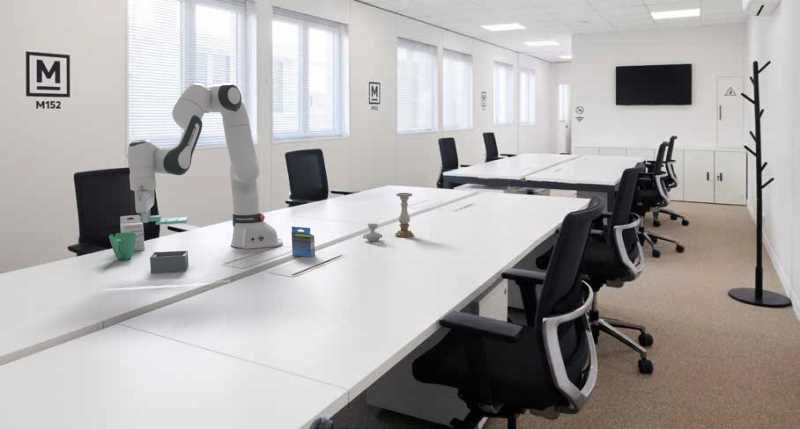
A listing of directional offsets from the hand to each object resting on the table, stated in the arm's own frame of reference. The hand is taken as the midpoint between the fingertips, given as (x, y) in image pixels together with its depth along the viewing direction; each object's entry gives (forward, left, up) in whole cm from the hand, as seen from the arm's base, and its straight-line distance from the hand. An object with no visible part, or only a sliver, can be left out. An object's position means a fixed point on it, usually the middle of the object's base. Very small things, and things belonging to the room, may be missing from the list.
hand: (146, 221), depth 232 cm
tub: (-8, +6, -18) cm, 21 cm away
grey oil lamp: (-91, -33, -18) cm, 99 cm away
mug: (+13, -17, -18) cm, 28 cm away
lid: (-6, 0, -1) cm, 6 cm away
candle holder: (-108, -42, -18) cm, 117 cm away
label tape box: (-58, -10, -18) cm, 62 cm away
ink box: (+13, -37, -18) cm, 43 cm away
